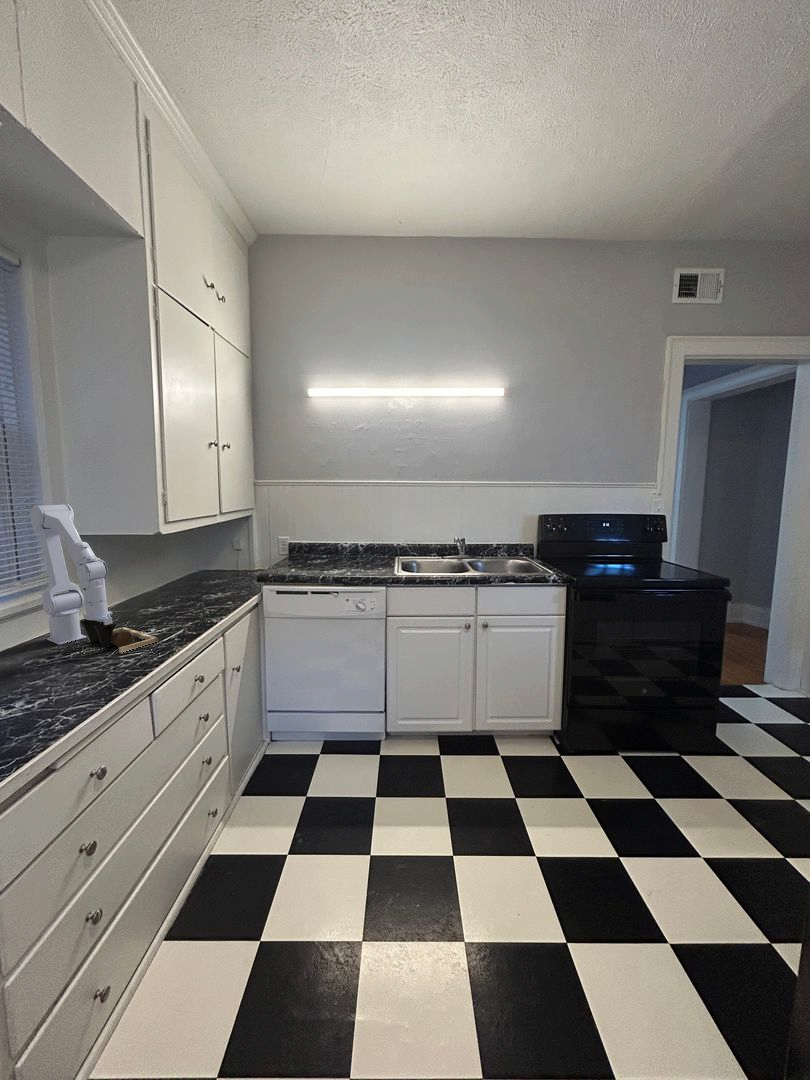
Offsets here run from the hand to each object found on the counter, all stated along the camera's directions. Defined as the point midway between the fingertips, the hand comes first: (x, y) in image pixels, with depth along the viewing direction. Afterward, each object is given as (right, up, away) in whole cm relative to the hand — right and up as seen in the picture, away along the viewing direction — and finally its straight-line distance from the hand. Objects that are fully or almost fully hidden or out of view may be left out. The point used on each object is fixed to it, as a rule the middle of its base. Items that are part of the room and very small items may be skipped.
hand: (100, 643), depth 146 cm
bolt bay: (+3, -1, +5) cm, 6 cm away
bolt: (+1, -1, +4) cm, 5 cm away
